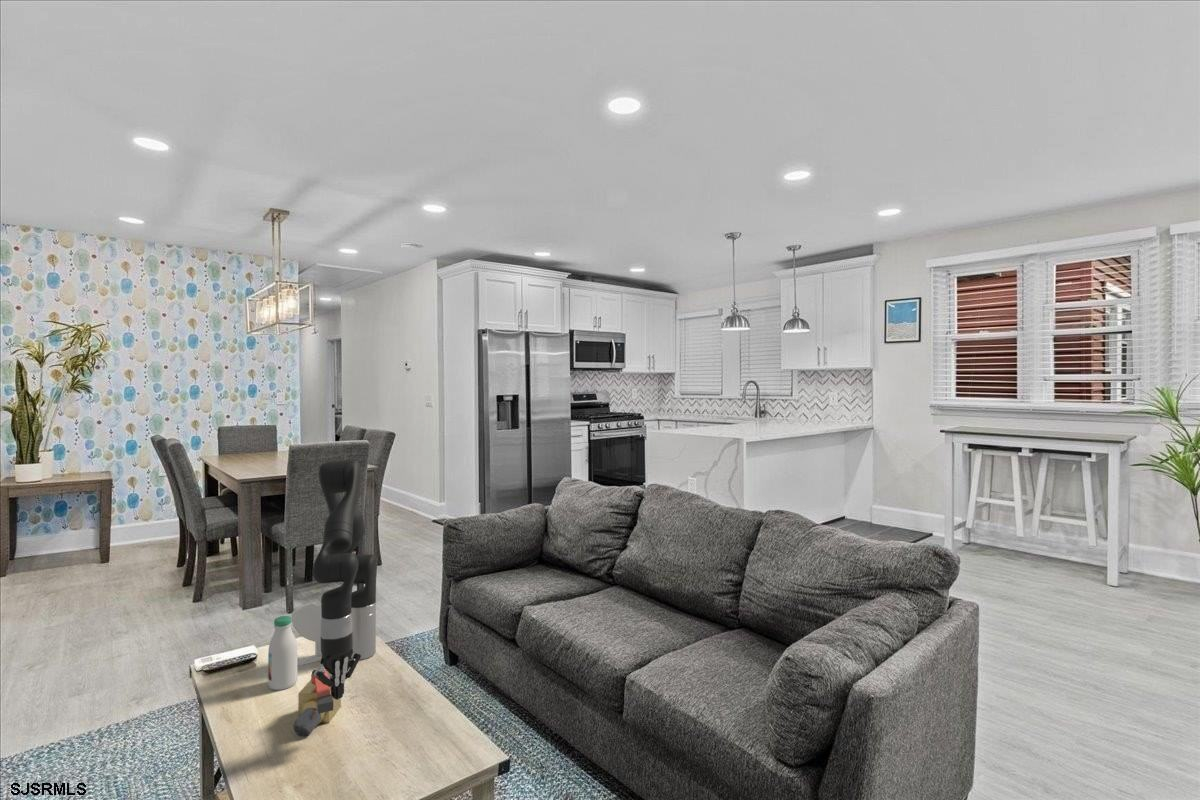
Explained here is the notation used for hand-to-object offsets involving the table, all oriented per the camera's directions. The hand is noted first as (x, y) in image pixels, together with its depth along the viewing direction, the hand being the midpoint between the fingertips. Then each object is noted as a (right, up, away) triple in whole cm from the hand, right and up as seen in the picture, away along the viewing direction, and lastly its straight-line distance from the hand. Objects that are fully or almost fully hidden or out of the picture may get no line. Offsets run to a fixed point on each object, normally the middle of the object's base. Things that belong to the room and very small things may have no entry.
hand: (337, 697), depth 156 cm
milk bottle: (-28, -9, +26) cm, 39 cm away
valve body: (-9, -9, +10) cm, 16 cm away
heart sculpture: (-25, -9, +44) cm, 51 cm away
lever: (-5, 0, +3) cm, 6 cm away
